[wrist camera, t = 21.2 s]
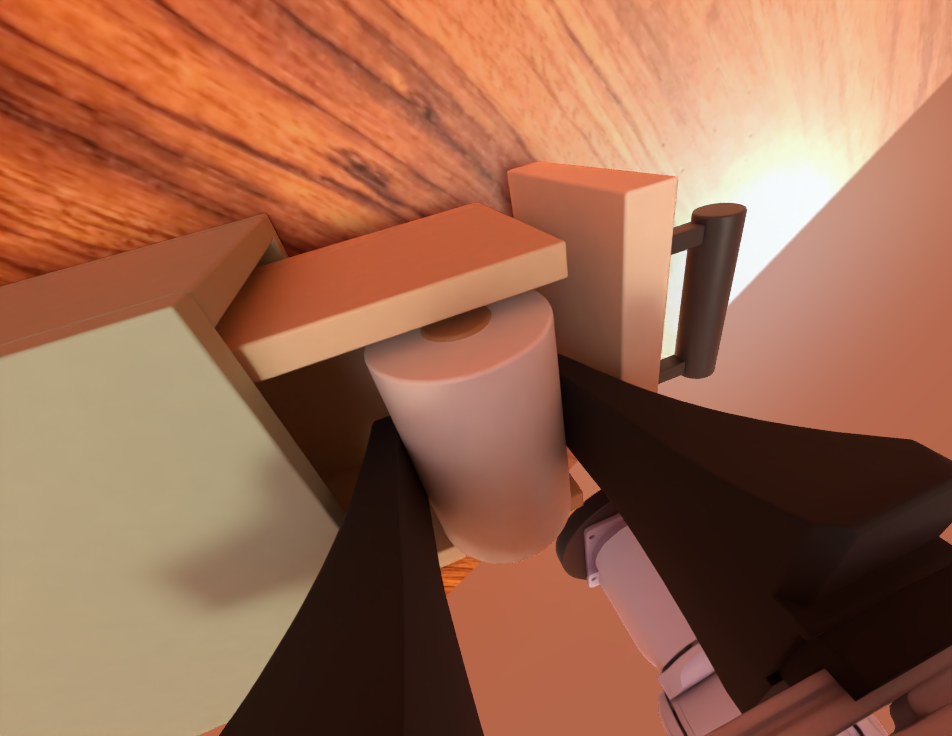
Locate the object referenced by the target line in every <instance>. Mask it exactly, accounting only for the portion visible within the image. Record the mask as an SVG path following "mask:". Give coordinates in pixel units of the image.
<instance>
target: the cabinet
mask: <svg viewBox="0 0 952 736" xmlns="http://www.w3.org/2000/svg"><path fill="white" fill-rule="evenodd" d="M286 258H289V257H288V255H287V253H286V251H285V249H284V247H283V245H282V243H281V241H280V239H279V237H278V235H277V233H276V231H275V229H274V227H273V225H272V223H271V221H270V219H269V218H268V216H267V214H265V213H263V214H259V215H256V216H252V217H248V218H245V219H241V220H238V221H234V222H230V223H227V224H223V225H220V226H216V227H212V228H209V229H205V230H202V231H198V232H194V233H191V234H187V235H184V236H180V237H176V238H173V239H169V240H166V241H162V242H158V243H155V244H151V245H148V246H144V247H140V248H137V249H133V250H130V251H126V252H122V253H119V254H115V255H112V256H108V257H104V258H101V259H97V260H94V261H90V262H86V263H83V264H79V265H76V266H72V267H68V268H65V269H61V270H58V271H54V272H50V273H47V274H43V275H40V276H36V277H32V278H29V279H25V280H22V281H18V282H14V283H11V284H7V285H4V286H0V736H199V735H201V734H203V733H205V732H207V731H209V730H212V729H214V728H216V727H218V726H220V725H223V724H224V723H227V722H229V720H230V719H231V718H232V716H233V715H234V713H235V712H236V710H237V709H238V707H239V706H240V705H241V703H242V702H243V700H244V699H245V697H246V696H247V694H248V693H249V691H250V690H251V688H252V686H253V685H254V683H255V682H256V680H257V679H258V677H259V676H260V674H261V672H262V671H263V669H264V667H265V666H266V664H267V663H268V661H269V659H270V658H271V656H272V654H273V653H274V651H275V649H276V648H277V646H278V645H279V643H280V641H281V640H282V638H283V636H284V635H285V633H286V631H287V630H288V628H289V627H290V625H291V623H292V621H293V620H294V618H295V616H296V614H297V613H298V611H299V609H300V607H301V605H302V604H303V602H304V600H305V598H306V596H307V594H308V592H309V590H310V589H311V587H312V585H313V583H314V581H315V579H316V577H317V575H318V573H319V571H320V569H321V567H322V565H323V563H324V561H325V559H326V557H327V555H328V553H329V551H330V548H331V546H332V544H333V542H334V540H335V537H336V535H337V533H338V530H339V528H340V526H341V523H342V521H343V518H344V515H345V511H344V510H343V509H342V507H341V506H340V504H339V503H338V502H337V500H336V499H335V497H334V496H333V494H332V493H331V492H330V490H329V489H328V487H327V486H326V485H325V483H324V482H323V480H322V479H321V478H320V476H319V475H318V473H317V472H316V471H315V469H314V468H313V466H312V465H311V463H310V462H309V461H308V459H307V458H306V456H305V455H304V454H303V452H302V451H301V449H300V448H299V447H298V445H297V444H296V442H295V441H294V439H293V438H292V437H291V435H290V434H289V432H288V431H287V430H286V428H285V427H284V425H283V424H282V423H281V421H280V420H279V418H278V417H277V416H276V414H275V413H274V411H273V410H272V408H271V407H270V406H269V404H268V403H267V401H266V400H265V399H264V397H263V396H262V394H261V393H260V392H259V390H258V389H257V387H256V386H255V384H254V383H253V382H252V380H251V379H250V377H249V376H248V375H247V373H246V372H245V370H244V369H243V368H242V366H241V365H240V363H239V362H238V361H237V359H236V358H235V356H234V355H233V353H232V352H231V351H230V349H229V348H228V346H227V345H226V344H225V342H224V341H223V339H222V338H221V337H220V335H219V334H218V332H217V331H216V329H215V328H214V327H215V326H216V325H217V324H218V322H219V321H220V319H221V318H222V316H223V315H224V313H225V312H226V310H227V309H228V307H229V306H230V304H231V303H232V301H233V300H234V298H235V297H236V295H237V294H238V292H239V291H240V289H241V288H242V286H243V285H244V283H245V282H246V280H247V279H248V277H249V276H250V274H251V273H252V271H253V270H254V268H256V267H259V266H262V265H266V264H269V263H273V262H276V261H279V260H283V259H286Z"/></svg>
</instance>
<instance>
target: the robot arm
mask: <svg viewBox="0 0 952 736" xmlns="http://www.w3.org/2000/svg"><path fill="white" fill-rule="evenodd" d="M557 358H558V368H559V378H560V388H561V398H562V409H563V419H564V429H565V439H566V446H567V447H568V448H569V449H570V451H571V452H572V453H573V455H574V456H575V457H576V458H577V460H578V461H579V462H580V463H581V464H582V466H583V467H584V468H585V470H586V471H587V472H588V473H589V475H590V476H591V477H592V478H593V480H594V481H595V482H596V483H597V485H598V486H599V487H600V488H601V490H602V491H603V492H604V493H605V495H606V496H607V497H608V498H609V500H610V501H611V502H612V504H613V505H614V506H615V508H616V509H617V511H618V512H619V513H617V514H615V515H613V516H611V517H608V518H606V519H604V520H602V521H599V522H597V523H595V524H593V525H590V526H588V527H587V528H586V529H585V530H584V545H585V558H586V572H587V583H588V585H589V587H594V586H596V585H599V584H600V585H601V587H602V588H603V590H604V592H605V594H606V595H607V597H608V598H609V600H610V602H611V604H612V605H613V607H614V609H615V611H616V612H617V614H618V616H619V617H620V619H621V621H622V622H623V624H624V626H625V627H626V629H627V631H628V633H629V634H630V636H631V638H632V639H633V641H634V643H635V645H636V646H637V648H638V649H639V651H640V652H641V654H642V655H643V656H644V657H645V658H646V659H647V660H648V661H649V662H650V663H651V664H652V665H654V666H655V667H656V668H658V670H659V671H660V673H661V674H660V675H659V676H658V677H657V679H658V681H659V683H660V684H661V686H662V688H663V689H664V690H662V691H661V692H659V694H658V701H659V704H658V712H659V716H660V719H661V722H662V725H663V727H664V730H665V732H666V734H667V736H952V545H951V544H949V543H948V542H946V541H945V540H943V539H942V538H940V537H939V535H940V534H942V532H943V531H944V530H945V529H946V528H947V527H948V526H949V525H950V524H951V523H952V460H950V459H948V458H946V457H944V456H942V455H940V454H938V453H937V452H935V451H933V450H931V449H929V448H927V447H925V446H923V445H922V444H920V443H918V442H916V441H913V440H910V439H899V438H890V437H879V436H870V435H861V434H851V433H841V432H832V431H825V430H818V429H811V428H805V427H798V426H791V425H786V424H780V423H774V422H768V421H763V420H758V419H753V418H748V417H743V416H739V415H734V414H729V413H725V412H721V411H717V410H712V409H708V408H705V407H701V406H698V405H694V404H690V403H687V402H683V401H679V400H676V399H673V398H670V397H667V396H664V395H661V394H658V393H655V392H652V391H649V390H646V389H644V388H641V387H638V386H635V385H633V384H630V383H627V382H625V381H622V380H620V379H617V378H615V377H613V376H610V375H608V374H605V373H603V372H601V371H598V370H596V369H594V368H591V367H589V366H587V365H585V364H582V363H580V362H578V361H575V360H573V359H571V358H569V357H566V356H564V355H561V354H559V353H558V354H557ZM890 703H892V704H891V705H890V715H891V717H892V719H893V721H894V724H895V730H894V732H893V733H891V734H890V735H888V734H887V732H886V731H885V730H884V728H883V727H882V725H881V724H880V722H879V721H878V720H877V719H876V717H875V716H874V715H873V713H874V712H877V711H878V710H880V709H882V708H883V707H885V706H887V705H889V704H890ZM219 736H484V734H483V731H482V728H481V724H480V720H479V717H478V713H477V710H476V706H475V702H474V699H473V695H472V692H471V688H470V685H469V681H468V677H467V674H466V670H465V666H464V663H463V659H462V655H461V651H460V648H459V644H458V640H457V637H456V633H455V629H454V625H453V622H452V618H451V614H450V610H449V606H448V602H447V599H446V595H445V590H444V586H443V581H442V576H441V571H440V565H439V559H438V553H437V547H436V541H435V535H434V529H433V523H432V517H431V511H430V505H429V499H428V495H427V493H426V491H425V489H424V487H423V485H422V482H421V480H420V478H419V476H418V474H417V472H416V470H415V467H414V465H413V463H412V461H411V459H410V457H409V455H408V452H407V450H406V448H405V446H404V444H403V442H402V440H401V437H400V435H399V433H398V431H397V429H396V427H395V425H394V423H393V420H392V418H391V416H387V417H384V418H382V419H379V420H376V421H374V423H373V424H372V427H371V432H370V436H369V440H368V445H367V448H366V452H365V456H364V460H363V463H362V466H361V469H360V473H359V476H358V479H357V482H356V485H355V488H354V491H353V494H352V497H351V499H350V502H349V505H348V507H347V510H346V513H345V515H344V518H343V521H342V523H341V526H340V528H339V530H338V533H337V535H336V537H335V540H334V542H333V544H332V546H331V548H330V551H329V553H328V555H327V557H326V559H325V561H324V563H323V565H322V567H321V569H320V571H319V573H318V575H317V577H316V579H315V581H314V583H313V585H312V587H311V589H310V590H309V592H308V594H307V596H306V598H305V600H304V602H303V604H302V605H301V607H300V609H299V611H298V613H297V614H296V616H295V618H294V620H293V621H292V623H291V625H290V627H289V628H288V630H287V631H286V633H285V635H284V636H283V638H282V640H281V641H280V643H279V645H278V646H277V648H276V649H275V651H274V653H273V654H272V656H271V658H270V659H269V661H268V663H267V664H266V666H265V667H264V669H263V671H262V672H261V674H260V676H259V677H258V679H257V680H256V682H255V683H254V685H253V686H252V688H251V690H250V691H249V693H248V694H247V696H246V697H245V699H244V700H243V702H242V703H241V705H240V706H239V707H238V709H237V710H236V712H235V713H234V715H233V716H232V718H231V719H230V720H229V722H228V723H227V725H226V726H225V728H224V729H223V731H222V732H221V734H220V735H219Z"/></svg>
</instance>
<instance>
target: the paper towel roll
mask: <svg viewBox="0 0 952 736" xmlns="http://www.w3.org/2000/svg"><path fill="white" fill-rule="evenodd" d="M364 358H365V363H366V365H367V367H368V369H369V371H370V373H371V376H372V378H373V380H374V382H375V384H376V386H377V388H378V390H379V393H380V395H381V397H382V399H383V401H384V403H385V405H386V408H387V410H388V412H389V414H390V416H391V418H392V420H393V423H394V425H395V427H396V429H397V431H398V433H399V435H400V437H401V440H402V442H403V444H404V446H405V448H406V450H407V452H408V455H409V457H410V459H411V461H412V463H413V465H414V467H415V470H416V472H417V474H418V476H419V478H420V480H421V482H422V485H423V487H424V489H425V491H426V493H427V495H428V498H429V500H430V502H431V504H432V506H433V508H434V510H435V513H436V515H437V517H438V519H439V521H440V523H441V525H442V527H443V530H444V532H445V534H446V536H447V537H448V538H449V540H450V541H451V542H452V544H453V545H454V546H455V547H456V548H458V549H459V550H460V551H461V552H463V553H464V554H466V555H468V556H470V557H472V558H474V559H477V560H479V561H483V562H488V563H497V564H502V563H503V564H504V563H513V562H518V561H522V560H525V559H528V558H530V557H532V556H534V555H536V554H538V553H539V552H541V551H542V550H544V549H545V548H547V547H548V546H549V545H550V544H551V543H552V542H553V541H554V540H555V539H556V538H557V537H558V535H559V534H560V533H561V531H562V530H563V528H564V526H565V524H566V522H567V520H568V516H569V513H570V508H571V490H570V480H569V470H568V460H567V449H566V439H565V429H564V419H563V409H562V398H561V388H560V378H559V368H558V358H557V347H556V337H555V327H554V317H553V311H552V307H551V306H550V304H549V302H548V300H547V299H546V298H545V297H544V296H543V295H542V294H540V293H539V292H538V291H536V290H534V289H532V290H529V291H526V292H523V293H520V294H517V295H514V296H511V297H509V298H506V299H503V300H500V301H497V302H494V303H491V304H488V305H485V306H482V307H479V308H476V309H473V310H470V311H467V312H464V313H461V314H458V315H455V316H452V317H450V318H447V319H444V320H441V321H438V322H435V323H432V324H429V325H426V326H423V327H420V328H417V329H414V330H411V331H408V332H405V333H402V334H399V335H396V336H393V337H390V338H388V339H385V340H382V341H379V342H376V343H373V344H370V345H367V346H365V349H364Z"/></svg>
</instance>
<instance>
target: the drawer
mask: <svg viewBox="0 0 952 736" xmlns="http://www.w3.org/2000/svg"><path fill="white" fill-rule="evenodd" d="M507 175H508V182H509V189H510V196H511V203H512V210H513V217H514V218H512V217H510V216H507V215H505V214H503V213H501V212H499V211H496V210H494V209H492V208H490V207H487V206H485V205H483V204H481V203H478V202H475V203H471V204H468V205H465V206H461V207H458V208H455V209H451V210H448V211H444V212H441V213H438V214H434V215H431V216H428V217H424V218H421V219H418V220H414V221H411V222H407V223H404V224H401V225H397V226H394V227H391V228H387V229H384V230H380V231H377V232H374V233H370V234H367V235H364V236H360V237H357V238H353V239H350V240H347V241H343V242H340V243H337V244H333V245H330V246H326V247H323V248H320V249H316V250H313V251H310V252H306V253H303V254H300V255H296V256H293V257H289V258H286V259H283V260H279V261H276V262H273V263H269V264H266V265H262V266H259V267H256V268H254V270H253V271H252V273H251V274H250V276H249V277H248V279H247V280H246V282H245V283H244V285H243V286H242V288H241V289H240V291H239V292H238V294H237V295H236V297H235V298H234V300H233V301H232V303H231V304H230V306H229V307H228V309H227V310H226V312H225V313H224V315H223V316H222V318H221V319H220V321H219V322H218V324H217V325H216V326H215V327H214V328H215V329H216V331H217V332H218V334H219V335H220V337H221V338H222V339H223V341H224V342H225V344H226V345H227V346H228V348H229V349H230V351H231V352H232V353H233V355H234V356H235V358H236V359H237V361H238V362H239V363H240V365H241V366H242V368H243V369H244V370H245V372H246V373H247V375H248V376H249V377H250V379H251V380H252V382H253V383H254V384H255V386H256V387H257V389H258V390H259V392H260V393H261V394H262V396H263V397H264V399H265V400H266V401H267V403H268V404H269V406H270V407H271V408H272V410H273V411H274V413H275V414H276V416H277V417H278V418H279V420H280V421H281V423H282V424H283V425H284V427H285V428H286V430H287V431H288V432H289V434H290V435H291V437H292V438H293V439H294V441H295V442H296V444H297V445H298V447H299V448H300V449H301V451H302V452H303V454H304V455H305V456H306V458H307V459H308V461H309V462H310V463H311V465H312V466H313V468H314V469H315V471H316V472H317V473H318V475H319V476H320V478H321V479H322V480H323V482H324V483H325V485H326V486H327V487H328V489H329V490H330V492H331V493H332V494H333V496H334V497H335V499H336V500H337V502H338V503H339V504H340V506H341V507H342V509H343V510H344V511H345V513H346V510H347V507H348V505H349V502H350V499H351V497H352V494H353V491H354V488H355V485H356V482H357V479H358V476H359V473H360V469H361V466H362V463H363V460H364V456H365V452H366V448H367V445H368V440H369V436H370V432H371V427H372V424H373V423H374V421H376V420H379V419H382V418H384V417H387V416H390V414H389V412H388V410H387V408H386V405H385V403H384V401H383V399H382V397H381V395H380V393H379V390H378V388H377V386H376V384H375V382H374V380H373V378H372V376H371V373H370V371H369V369H368V367H367V365H366V363H365V358H364V349H365V346H367V345H370V344H373V343H376V342H379V341H382V340H385V339H388V338H390V337H393V336H396V335H399V334H402V333H405V332H408V331H411V330H414V329H417V328H420V327H423V326H426V325H429V324H432V323H435V322H438V321H441V320H444V319H447V318H450V317H452V316H455V315H458V314H461V313H464V312H467V311H470V310H473V309H476V308H479V307H482V306H485V305H488V304H491V303H494V302H497V301H500V300H503V299H506V298H509V297H511V296H514V295H517V294H520V293H523V292H526V291H529V290H532V289H534V290H536V291H538V292H539V293H540V294H542V295H543V296H544V297H545V298H546V299H547V300H548V302H549V304H550V306H551V307H552V311H553V317H554V327H555V337H556V347H557V354H558V353H559V354H561V355H564V356H566V357H569V358H571V359H573V360H575V361H578V362H580V363H582V364H585V365H587V366H589V367H591V368H594V369H596V370H598V371H601V372H603V373H605V374H608V375H610V376H613V377H615V378H617V379H620V380H622V381H625V382H627V383H630V384H633V385H635V386H638V387H641V388H644V389H646V390H649V391H652V392H655V393H657V390H658V384H660V383H662V382H665V381H667V380H670V379H672V378H675V377H677V376H680V375H682V376H684V377H687V378H695V379H700V378H705V377H708V376H710V375H711V374H712V373H713V372H714V369H715V364H716V360H717V355H718V350H719V345H720V340H721V335H722V329H723V325H724V320H725V315H726V311H727V306H728V301H729V296H730V291H731V286H732V281H733V276H734V271H735V266H736V261H737V257H738V252H739V247H740V242H741V237H742V232H743V227H744V222H745V217H746V212H747V209H746V207H745V206H743V205H740V204H735V203H717V204H710V205H706V206H702V207H699V208H697V209H695V210H694V211H693V213H692V217H691V222H689V223H686V224H683V225H680V226H677V227H674V228H673V226H674V215H675V205H676V195H677V185H678V178H677V177H675V176H668V175H658V174H649V173H640V172H630V171H621V170H612V169H603V168H593V167H584V166H575V165H565V164H556V163H547V162H535V163H532V164H528V165H525V166H521V167H518V168H514V169H511V170H508V171H507ZM687 249H688V250H687ZM684 250H687V258H686V266H685V274H684V282H683V290H682V298H681V306H680V315H679V323H678V331H677V339H676V347H675V355H672V356H669V357H667V358H664V359H662V360H660V359H661V349H662V339H663V328H664V318H665V308H666V298H667V287H668V277H669V267H670V257H671V255H672V254H675V253H678V252H681V251H684ZM569 480H570V490H571V508H570V511H572V510H574V509H577V508H579V507H581V506H583V493H582V490H581V489H580V488H579V486H578V484H577V483H576V482H575V480H574V479H573V477H572V476H571V474H570V473H569ZM428 499H429V498H428ZM429 505H430V511H431V517H432V523H433V529H434V535H435V541H436V547H437V553H438V559H439V565H440V568H441V567H443V566H446V565H448V564H450V563H453V562H455V561H457V560H460V559H462V558H464V557H466V556H468V555H466V554H464V553H463V552H461V551H460V550H459V549H458V548H456V547H455V546H454V545H453V544H452V542H451V541H450V540H449V538H448V537H447V536H446V534H445V532H444V530H443V527H442V525H441V523H440V521H439V519H438V517H437V515H436V513H435V510H434V508H433V506H432V504H431V502H430V500H429Z"/></svg>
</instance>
